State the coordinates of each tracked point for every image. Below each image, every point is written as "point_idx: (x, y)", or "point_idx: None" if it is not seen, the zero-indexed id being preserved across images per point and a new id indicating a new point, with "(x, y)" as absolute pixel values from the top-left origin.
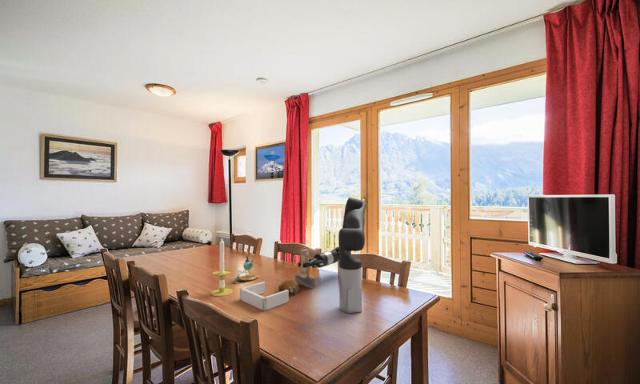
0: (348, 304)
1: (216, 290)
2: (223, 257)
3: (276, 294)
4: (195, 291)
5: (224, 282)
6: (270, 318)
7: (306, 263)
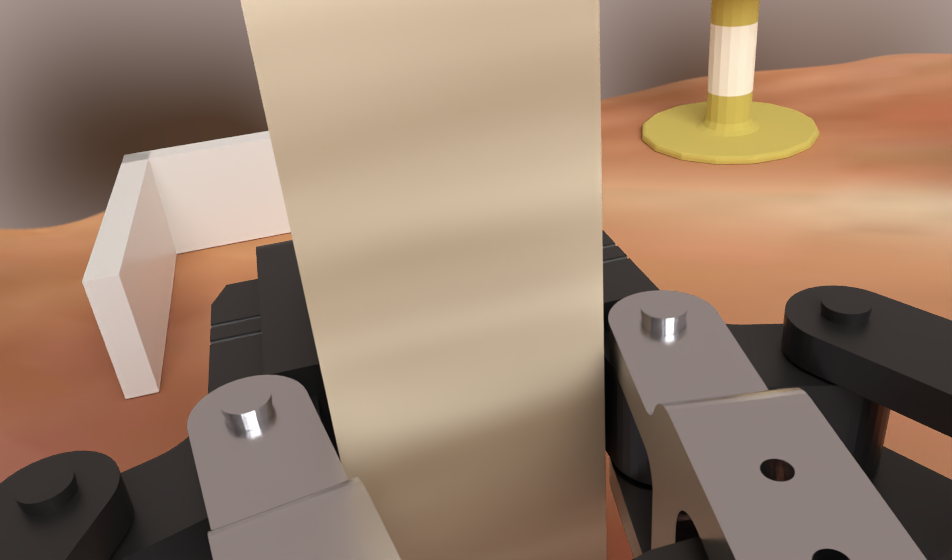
0: None
1: (779, 111)
2: None
3: (108, 206)
4: (817, 70)
5: (725, 53)
6: (8, 257)
7: (263, 315)
